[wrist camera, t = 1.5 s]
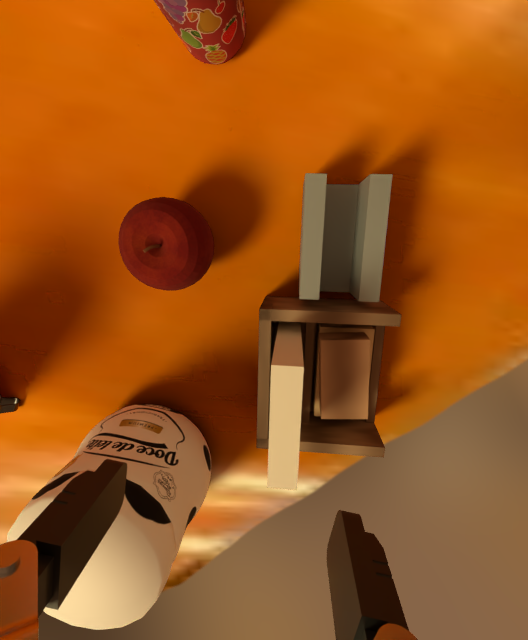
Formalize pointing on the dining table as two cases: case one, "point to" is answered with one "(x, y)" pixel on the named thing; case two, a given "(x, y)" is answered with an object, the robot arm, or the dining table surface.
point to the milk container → (132, 512)
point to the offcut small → (344, 375)
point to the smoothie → (207, 26)
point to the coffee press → (9, 404)
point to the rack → (314, 430)
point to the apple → (166, 243)
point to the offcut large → (320, 329)
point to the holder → (343, 236)
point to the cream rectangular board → (285, 407)
